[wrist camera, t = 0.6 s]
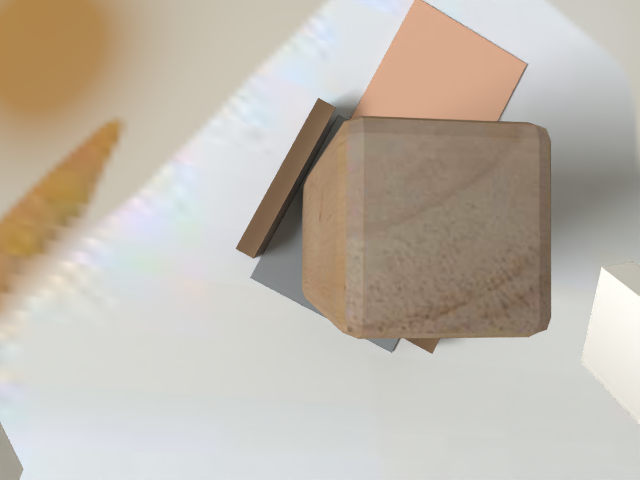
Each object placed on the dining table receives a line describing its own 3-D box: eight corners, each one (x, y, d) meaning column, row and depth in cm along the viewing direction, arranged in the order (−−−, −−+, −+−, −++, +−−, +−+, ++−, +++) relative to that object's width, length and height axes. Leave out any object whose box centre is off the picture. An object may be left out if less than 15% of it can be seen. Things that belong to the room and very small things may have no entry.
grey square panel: (472, 192, 44) (473, 192, 44) (391, 352, 43) (391, 352, 43) (338, 115, 43) (338, 115, 43) (250, 277, 42) (250, 277, 42)
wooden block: (301, 176, 42) (341, 108, 23) (421, 179, 44) (560, 117, 24) (300, 300, 42) (339, 342, 22) (421, 300, 43) (561, 340, 24)
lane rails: (490, 209, 44) (506, 206, 42) (420, 346, 43) (432, 353, 40) (314, 108, 43) (318, 97, 40) (237, 249, 42) (235, 248, 39)
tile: (525, 65, 45) (526, 64, 45) (462, 186, 44) (463, 186, 44) (415, -2, 44) (416, -3, 44) (348, 121, 43) (349, 121, 43)
